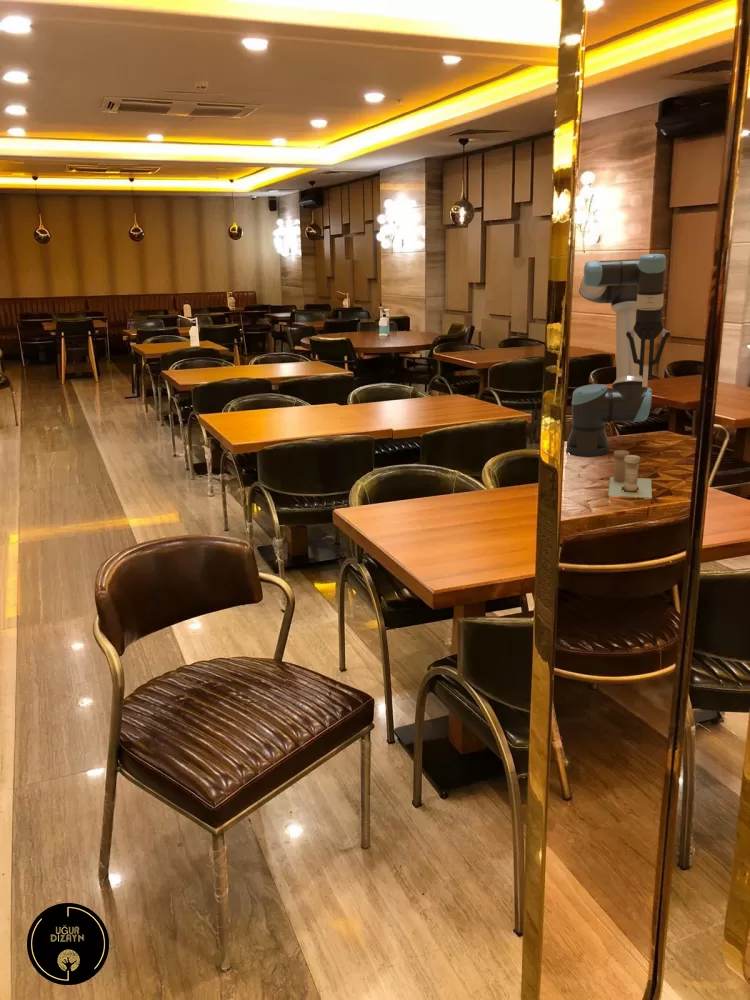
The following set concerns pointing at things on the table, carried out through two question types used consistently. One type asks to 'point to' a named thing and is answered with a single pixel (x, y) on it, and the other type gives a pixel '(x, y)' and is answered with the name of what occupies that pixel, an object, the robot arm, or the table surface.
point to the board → (619, 478)
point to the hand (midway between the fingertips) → (644, 385)
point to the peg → (631, 473)
